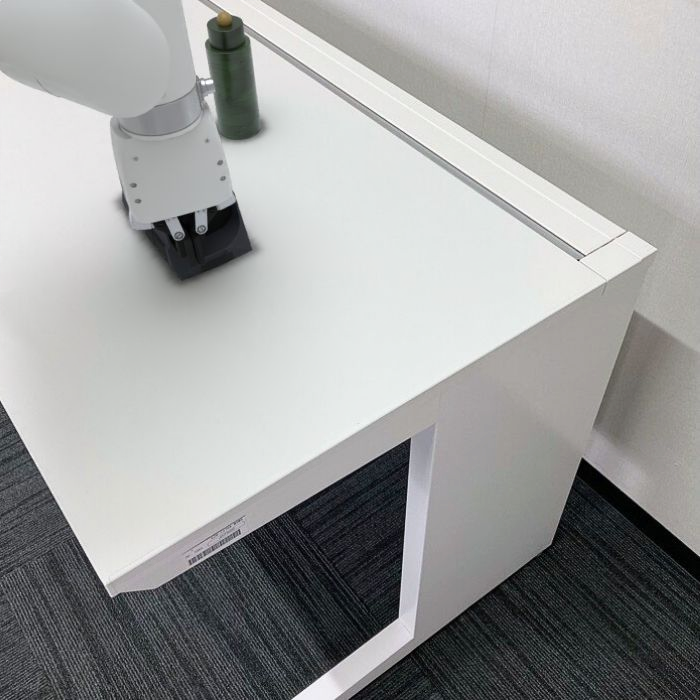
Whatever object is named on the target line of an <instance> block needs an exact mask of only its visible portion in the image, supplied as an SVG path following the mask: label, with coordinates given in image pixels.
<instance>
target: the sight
mask: <svg viewBox="0 0 700 700" xmlns="http://www.w3.org/2000/svg"><path fill="white" fill-rule="evenodd" d="M232 192H233V194H234V196H235V198H236V201H235V203H233V204H232V205H230V206H228V207H226V208H224V209H222V210H218V211H217V213H216V214H215V216H214V217H213V218H212V220H211V221H210V222H209V223H208V225H207V231H206V232H205V237H206V241H207V246H208V251H207V252H204V253H203V254H204V258H205V263H206V264H204V265H200V264H198V262H197V265H196V267H194V268H191V267H190V264H189V262H188V260H187V257H186V258H183V259H181V258H180V255H179V253H178V250H177V246H176V242H175V239H174V238H173V236H171V235H169V234H166V233H164V232H162V231H159V230H157V229H155V228H152V229H147V230H142V232H143V233H144V234H145V235H146V236H147V238H148V239H149V241H150V242H151V243H152V245H153V246H154V247H155V248H156V250H157V251H158V252H159V253H160V255H161V256H162V257H163V259H164V260H165V262H167V264H168V265H169V266H170V268H171V269H172V270H173V272H174V273H175V274H176V275H177V277H178V279H180V281H183V280H186V279H189V278H192V277H194V276H196V275H199V274H202V273H205V272H207V271H210V270H212V269H215V268H217V267H220V266H221V265H224V264H226V263H228V262H230V261H232V260H234V259H236V258H238V257H240V256H242V255H244V254H246V253H248V252H250V251H252V250H253V247H252V244H251V241H250V238H249V237H250V236H249V234H248V231H247V228H246V226H245V222H244V218H243V215H242V212H241V210H240V206H239V202H238V200H237V196H236V194H235V192H234V190H233V189H232ZM121 201H122V203H123V206H124V208H125V209H126V210H127V212H128V213H129V206H128V203H127V201H126V199H125V197H124V194H123V190H122V189H121ZM177 217H178V219H179V220H181V221H182V222H183V223H184V224H185V226H186V222H187V219H189V213H188V214H184V215H180V216H177ZM186 228H187V227H186ZM196 261H197V260H196Z"/></svg>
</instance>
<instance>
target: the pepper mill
mask: <svg viewBox="0 0 700 700" xmlns="http://www.w3.org/2000/svg"><path fill="white" fill-rule="evenodd" d="M206 30H207V36H208V38H207V39H206V40H205V42H204V48H205V54H206V59H207V65H208V71H209V78H212V79H213V82H214V86H215V93H212V95H213V100H214V106H215V113H216V119H217V125H218V130H219V131H218V132H219V134H221V135H222V136H223V137H225V138H227V139H230V140H244V139H249V138H251V137H254V136H255V135H257V134H258V133H259V132H260V131H261V127H262V123H261V116H260V107H259V99H258V92H257V83H256V75H255V66H254V59H253V52H252V51H253V50H252V43H251V39H250V37H249V36H248V35H247V34H246V33H245V26H244V21H243V19H242V17H239V16H237V15H232V14H230V13H229V12H227V11H219V13H218V14H217V15H216V16H214V17H212V18H210V19H209V20H208V21H207V23H206Z"/></svg>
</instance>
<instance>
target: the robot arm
mask: <svg viewBox="0 0 700 700" xmlns="http://www.w3.org/2000/svg"><path fill="white" fill-rule="evenodd" d="M0 72H1V73H2V74H3V75H5V76H6V77H8V78H10V79H11V80H13V81H15V82H17V83H19V84H22V85H24V86H26V87H29V88H32V89H34V90H37V91H40V92H43V93H45V94H49V95H51V96H54V97H56V98H60V99H61V98H62V99H64V100H66V101H70V102H72V103H75V104H78V105H80V106H84V107H86V108H88V109H91V110H94V111H96V112H98V113H102V114H104V115H107V116H111V118H110V120H109V131H110V140H111V142H110V143H111V149H112V153H113V158H114V163H115V167H116V172H117V176H118V179H119V183H120V188H121V191H122V190H123V194H124V197H125V199H126V201H127V203H128V206H129V212H128V220H129V224H130V226H131V229H132V230H134V231H143V230H147V229H152V228H155V229H157V230H159V231H162V232H164V233H166V234H169V235H171V236H173V238H174V239H175V242H176V246H177V250H178V253H179V255H180V258H181V259H183V258H186V257H187V260H188V262H189V264H190V267H191V268H194V267H196V265H197V262H198V264H200V265H204V264H206V263H205V258H204V254H203V253H204V252H207V251H208V246H207V241H206V237H205V232H206V231H207V225H208V223H209V222H210V221H211V220H212V218H213V217H214V216H215V214H216V213H217V211H218V210H222V209H224V208H226V207H228V206H230V205H232V204H233V203H235V201H236V199H237V197H236V198H235V196H236V195H235V196H234V194H233V192H234V191H233V192H232V190H233V184H232V183H233V182H232V178H231V174H230V170H229V166H228V161H227V157H226V154H225V149H224V146H223V142H222V139H221V137H220V132H219V131H218V130H219V129H218V127H217V124H216V121H215V119H214V116H213V113H212V110H211V108H210V106H209V104H208V101H207V100H206V99H205V97H209V95H211V94H213V93H215V86H214V82H213V79H212V78H210V77H208V78H204V77H199V76H198V74H196V69H195V64H194V59H193V54H192V49H191V43H190V38H189V33H188V27H187V21H186V17H185V11H184V5H183V1H182V0H0ZM188 213H189V219H187V222H186V226H185V224H184V223H183V222H182V221H181V220H179V219H178V217H177V216H180V215H184V214H188ZM186 227H187V228H186ZM196 260H197V261H196Z"/></svg>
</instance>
